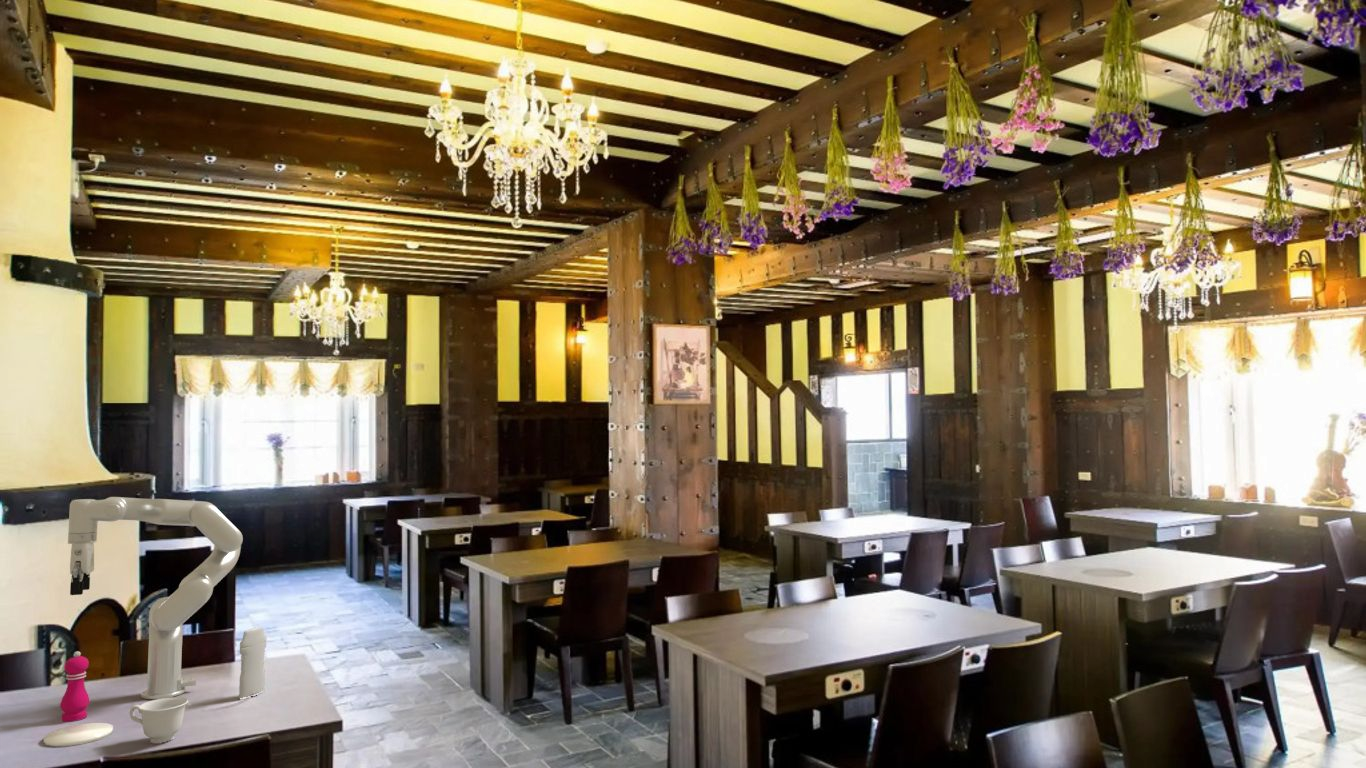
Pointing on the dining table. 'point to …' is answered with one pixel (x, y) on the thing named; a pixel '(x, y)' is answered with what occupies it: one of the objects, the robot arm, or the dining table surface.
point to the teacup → (161, 717)
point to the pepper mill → (75, 689)
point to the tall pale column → (252, 662)
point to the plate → (78, 734)
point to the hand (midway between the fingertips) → (79, 592)
